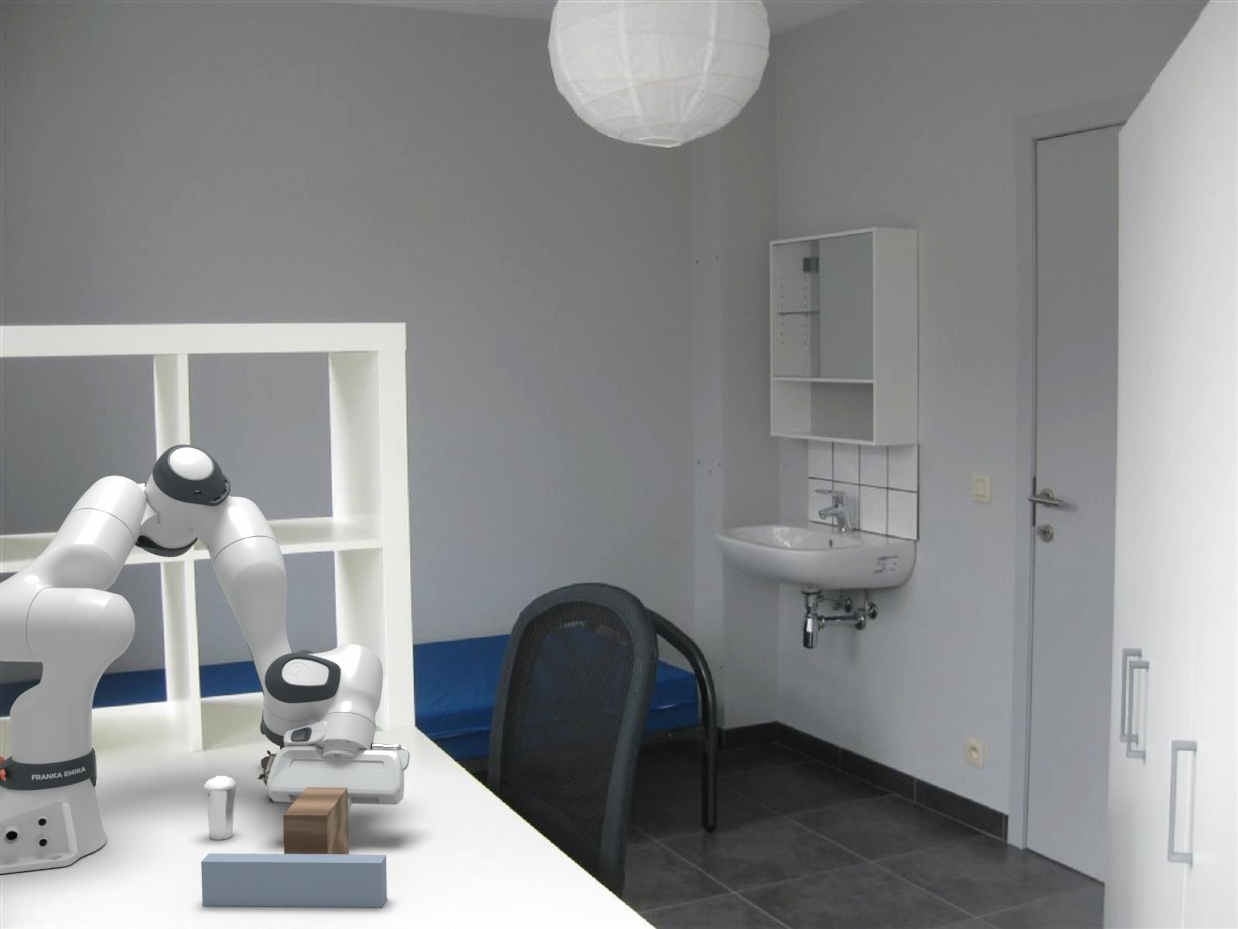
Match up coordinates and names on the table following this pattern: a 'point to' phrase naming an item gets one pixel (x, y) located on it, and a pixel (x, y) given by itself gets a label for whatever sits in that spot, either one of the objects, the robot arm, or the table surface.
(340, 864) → the slate board
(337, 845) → the walnut block
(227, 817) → the milkshake
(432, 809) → the table surface
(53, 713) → the robot arm
